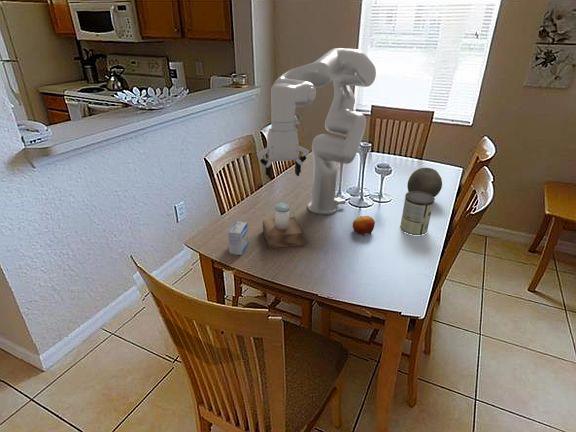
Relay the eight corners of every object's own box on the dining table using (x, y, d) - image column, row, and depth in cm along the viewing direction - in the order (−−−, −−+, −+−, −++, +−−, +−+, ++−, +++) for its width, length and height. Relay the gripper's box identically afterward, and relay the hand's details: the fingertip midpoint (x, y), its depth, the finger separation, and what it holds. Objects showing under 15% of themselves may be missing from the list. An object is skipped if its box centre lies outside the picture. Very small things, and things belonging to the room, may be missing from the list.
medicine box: (242, 255, 126) (240, 233, 122) (229, 254, 127) (227, 232, 123) (248, 243, 133) (248, 222, 129) (236, 242, 133) (235, 220, 129)
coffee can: (400, 221, 149) (406, 189, 143) (427, 225, 146) (434, 193, 140) (398, 233, 141) (404, 200, 134) (427, 238, 138) (434, 204, 131)
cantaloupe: (403, 203, 163) (409, 171, 156) (406, 191, 175) (412, 161, 168) (437, 210, 159) (444, 177, 152) (438, 197, 170) (445, 166, 163)
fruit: (364, 238, 134) (359, 217, 134) (352, 239, 141) (347, 219, 141) (381, 233, 138) (377, 212, 137) (369, 234, 145) (364, 214, 145)
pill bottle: (287, 221, 137) (287, 202, 133) (290, 228, 132) (291, 208, 129) (273, 223, 136) (273, 203, 132) (276, 230, 131) (276, 210, 127)
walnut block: (293, 228, 143) (294, 216, 140) (301, 244, 132) (302, 232, 130) (262, 231, 140) (262, 219, 138) (268, 248, 130) (268, 236, 128)
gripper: (306, 120, 122) (305, 169, 130) (254, 123, 118) (256, 173, 127) (313, 127, 115) (311, 178, 124) (257, 130, 112) (259, 182, 120)
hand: (283, 175), depth 125 cm, fingers open, 9 cm apart
